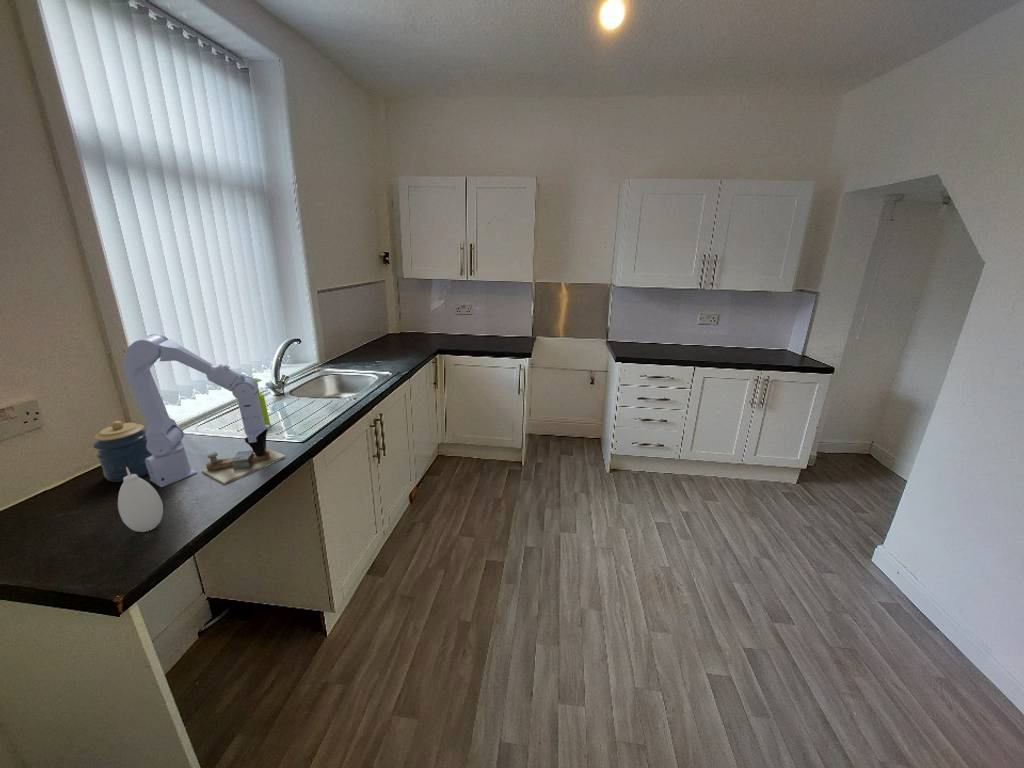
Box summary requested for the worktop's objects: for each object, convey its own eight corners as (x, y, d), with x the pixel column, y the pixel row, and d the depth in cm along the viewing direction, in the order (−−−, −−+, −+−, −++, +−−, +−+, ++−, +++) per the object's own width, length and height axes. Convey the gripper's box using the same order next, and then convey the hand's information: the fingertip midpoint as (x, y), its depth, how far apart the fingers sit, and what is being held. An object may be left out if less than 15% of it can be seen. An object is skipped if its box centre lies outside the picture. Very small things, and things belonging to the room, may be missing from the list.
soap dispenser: (264, 430, 157) (253, 381, 151) (249, 429, 158) (238, 380, 152) (276, 424, 162) (265, 377, 156) (261, 422, 164) (250, 376, 157)
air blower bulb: (127, 529, 102) (103, 466, 96) (166, 515, 107) (146, 455, 101) (129, 544, 97) (104, 479, 91) (170, 529, 102) (149, 466, 96)
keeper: (250, 470, 129) (247, 459, 127) (234, 472, 127) (231, 461, 126) (256, 460, 135) (253, 449, 133) (240, 462, 133) (238, 451, 132)
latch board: (224, 484, 121) (223, 482, 121) (202, 472, 128) (201, 470, 128) (285, 457, 136) (285, 455, 136) (263, 447, 143) (262, 445, 143)
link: (205, 471, 126) (201, 456, 124) (209, 465, 130) (205, 450, 128) (268, 460, 132) (265, 445, 131) (270, 454, 136) (266, 440, 134)
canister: (128, 485, 121) (108, 432, 116) (94, 480, 124) (73, 428, 118) (170, 463, 133) (154, 414, 128) (139, 460, 136) (122, 411, 130)
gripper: (263, 421, 124) (272, 460, 128) (269, 405, 136) (277, 441, 141) (236, 425, 121) (246, 465, 125) (245, 408, 134) (254, 445, 138)
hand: (261, 453), depth 133 cm, fingers closed on link, 3 cm apart
